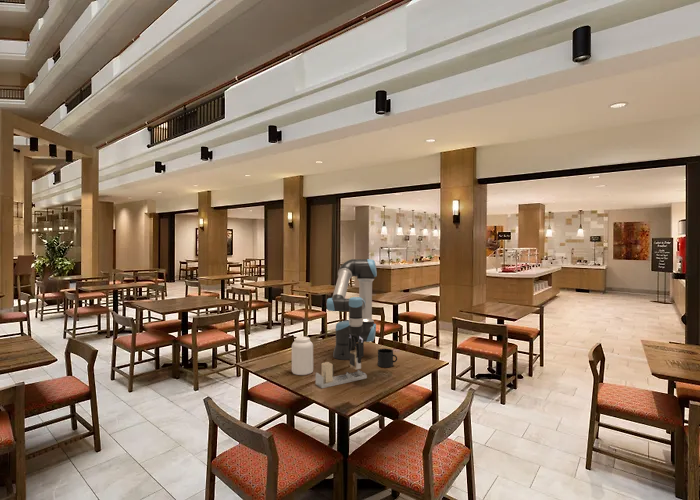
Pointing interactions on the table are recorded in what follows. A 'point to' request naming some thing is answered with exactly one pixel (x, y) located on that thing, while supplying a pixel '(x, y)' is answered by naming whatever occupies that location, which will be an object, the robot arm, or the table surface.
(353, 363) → the beige upright block
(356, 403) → the table surface
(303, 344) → the white jar
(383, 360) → the mug
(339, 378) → the rail
